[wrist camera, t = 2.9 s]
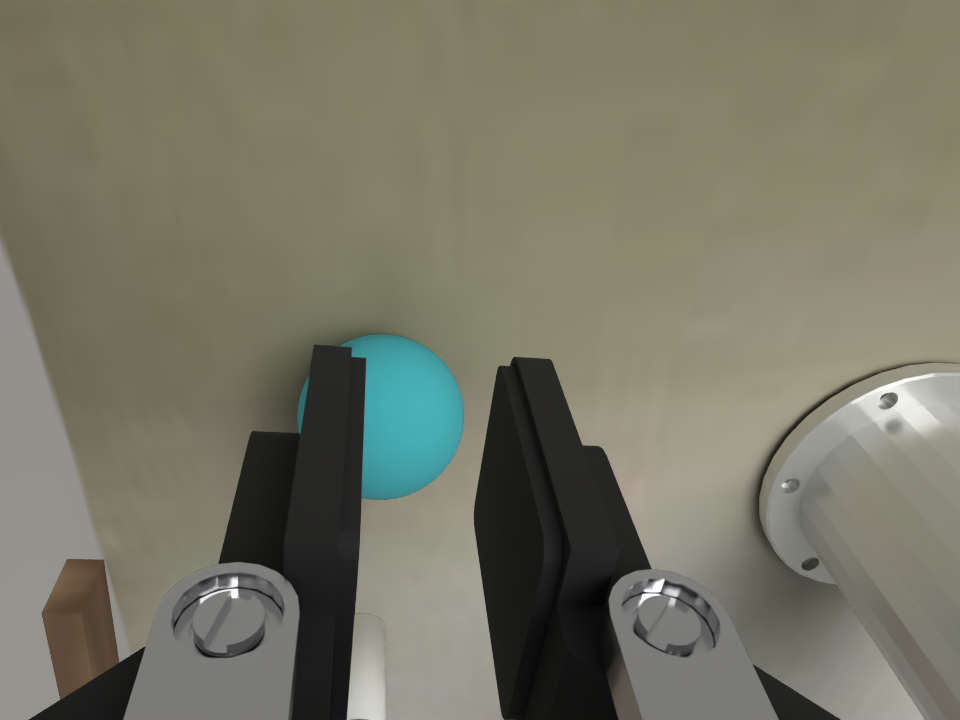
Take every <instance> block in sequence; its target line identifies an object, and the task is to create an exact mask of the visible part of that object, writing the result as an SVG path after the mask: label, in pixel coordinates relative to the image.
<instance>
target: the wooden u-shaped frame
mask: <svg viewBox="0 0 960 720" xmlns="http://www.w3.org/2000/svg"><path fill="white" fill-rule="evenodd" d="M42 617H43V622H44V626H45V630H46V635H47V640H48V645H49V649H50V654H51V658H52V663H53V668H54V672H55V677H56V682H57V686H58V691H59V695H60V700H61V699H63V698H64V697H66V696H67V695H69V694H70V693H72V692H74V691H75V690H77V689H78V688H80V687H82V686H83V685H85V684H86V683H88V682H90V681H91V680H93V679H94V678H96V677H98V676H99V675H101V674H102V673H104V672H105V671H107V670H109V669H110V668H112V667H113V666H115V665H117V664H118V663H119V658H118V651H117V645H116V638H115V632H114V625H113V618H112V612H111V605H110V599H109V592H108V586H107V579H106V572H105V566H104V560H82V559H79V560H78V559H67V561H66V563H65V565H64V567H63V569H62V572H61V574H60V576H59V578H58V580H57V582H56V584H55V586H54V588H53V590H52V593H51V595H50V597H49V599H48V601H47V603H46V605H45V607H44V609H43V612H42Z"/></svg>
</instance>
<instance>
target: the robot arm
mask: <svg viewBox="0 0 960 720" xmlns="http://www.w3.org/2000/svg"><path fill="white" fill-rule="evenodd" d="M365 382H366V358H362V357H352V347H342V346H326V345H314V348H313V355H312V361H311V368H310V374H309V381H308V388H307V394H306V401H305V407H304V414H303V420H302V427H301V433H280V432H257V431H253V432H252V433H251V435H250V438H249V441H248V445H247V449H246V453H245V457H244V462H243V466H242V470H241V474H240V478H239V482H238V486H237V490H236V494H235V498H234V502H233V507H232V511H231V515H230V519H229V523H228V527H227V531H226V535H225V539H224V543H223V547H222V551H221V556H220V560H219V564H217V565H214V566H211V567H208V568H204V569H201V570H198V571H196V572H195V573H193V574H191V575H189V576H188V577H186V578H184V579H183V580H181V581H179V582H178V583H177V584H176V585H175V586H174V587H173V588H172V589H171V590H170V591H169V592H168V593H167V594H166V595H165V597H164V599H163V600H162V602H161V604H160V606H159V608H158V610H157V612H156V615H155V618H154V621H153V625H152V628H151V631H150V634H149V638H148V641H147V644H146V646H145V647H144V648H142V649H140V650H139V651H137V652H136V653H134V654H132V655H131V656H129V657H128V658H126V659H125V660H123V661H121V662H120V663H118V664H117V665H115V666H113V667H112V668H110V669H109V670H107V671H105V672H104V673H102V674H101V675H99V676H98V677H96V678H94V679H93V680H91V681H90V682H88V683H86V684H85V685H83V686H82V687H80V688H78V689H77V690H75V691H74V692H72V693H70V694H69V695H67V696H66V697H64V698H63V699H61V700H59V701H58V702H56V703H55V704H53V705H52V706H50V707H48V708H47V709H45V710H43V711H42V712H40V713H39V714H37V715H36V716H34V717H32V718H31V719H29V720H347V711H348V697H349V684H350V670H351V656H352V643H353V629H354V616H355V602H356V589H357V575H358V561H359V544H360V523H361V495H362V467H363V438H364V410H365ZM759 517H760V520H761V524H762V527H763V531H764V533H765V535H766V537H767V538H768V540H769V542H770V544H771V545H772V547H773V549H774V551H775V552H776V554H777V555H778V556H779V557H780V558H781V559H782V561H783V562H784V563H785V564H786V565H787V566H788V567H790V568H791V569H792V570H794V571H795V572H797V573H798V574H800V575H802V576H805V577H808V578H810V579H813V580H815V581H818V582H823V583H828V584H834V585H837V586H838V588H839V589H840V591H841V592H842V594H843V595H844V597H845V598H846V600H847V601H848V603H849V604H850V606H851V607H852V609H853V611H854V612H855V614H856V615H857V617H858V618H859V620H860V621H861V623H862V624H863V626H864V627H865V629H866V630H867V632H868V633H869V635H870V637H871V638H872V640H873V641H874V643H875V644H876V646H877V647H878V649H879V650H880V652H881V653H882V655H883V656H884V658H885V659H886V661H887V662H888V664H889V666H890V667H891V669H892V670H893V672H894V673H895V675H896V676H897V678H898V679H899V681H900V682H901V684H902V685H903V687H904V688H905V690H906V691H907V693H908V695H909V696H910V698H911V699H912V701H913V702H914V704H915V705H916V707H917V708H918V710H919V711H920V713H921V714H922V716H923V717H924V719H925V720H960V364H950V363H927V364H917V365H909V366H905V367H901V368H897V369H894V370H890V371H886V372H882V373H879V374H877V375H875V376H872V377H870V378H868V379H865V380H863V381H861V382H858V383H856V384H854V385H852V386H850V387H849V388H847V389H845V390H843V391H842V392H840V393H838V394H837V395H835V396H833V397H832V398H830V399H828V400H827V401H826V402H825V403H823V404H822V405H821V406H819V407H818V408H817V409H816V410H814V411H813V412H812V413H811V414H809V415H808V416H807V417H806V418H805V419H804V420H803V421H802V422H801V423H800V424H799V425H798V426H797V427H796V428H795V429H794V430H793V431H792V432H791V433H790V434H789V436H788V437H787V438H786V439H785V441H784V442H783V444H782V445H781V447H780V448H779V450H778V451H777V452H776V454H775V455H774V457H773V459H772V461H771V463H770V465H769V467H768V470H767V472H766V474H765V476H764V479H763V483H762V487H761V492H760V496H759ZM474 527H475V534H476V541H477V548H478V555H479V562H480V569H481V576H482V583H483V590H484V597H485V604H486V611H487V618H488V624H489V631H490V638H491V645H492V652H493V659H494V666H495V673H496V680H497V687H498V694H499V701H500V708H501V713H502V717H503V719H504V720H840V719H839V718H837V717H835V716H834V715H832V714H831V713H829V712H828V711H826V710H824V709H823V708H821V707H820V706H818V705H816V704H815V703H813V702H812V701H810V700H809V699H807V698H805V697H804V696H802V695H801V694H799V693H797V692H796V691H794V690H793V689H791V688H790V687H788V686H786V685H785V684H783V683H782V682H780V681H778V680H777V679H775V678H774V677H772V676H771V675H769V674H767V673H766V672H764V671H763V670H761V669H759V668H758V667H756V666H755V665H753V664H752V662H751V660H750V658H749V656H748V654H747V652H746V649H745V647H744V645H743V643H742V641H741V639H740V637H739V635H738V633H737V630H736V628H735V626H734V624H733V622H732V620H731V618H730V616H729V614H728V613H727V611H726V610H725V608H724V607H723V605H722V604H721V602H720V601H719V600H718V599H717V598H716V597H715V596H714V595H713V594H711V593H710V592H709V591H708V590H707V589H706V588H704V587H703V586H701V585H700V584H698V583H696V582H695V581H693V580H691V579H690V578H687V577H684V576H682V575H679V574H676V573H673V572H670V571H663V570H656V569H651V566H650V564H649V561H648V559H647V556H646V554H645V551H644V549H643V546H642V544H641V541H640V539H639V536H638V534H637V531H636V529H635V526H634V524H633V521H632V519H631V516H630V514H629V511H628V508H627V506H626V503H625V501H624V498H623V496H622V493H621V491H620V488H619V486H618V483H617V481H616V478H615V476H614V473H613V471H612V468H611V466H610V463H609V461H608V458H607V456H606V454H605V452H604V450H603V449H602V448H601V447H599V446H583V445H582V443H581V440H580V438H579V435H578V432H577V429H576V426H575V424H574V421H573V418H572V415H571V413H570V410H569V407H568V404H567V401H566V399H565V396H564V393H563V390H562V388H561V385H560V382H559V379H558V376H557V374H556V371H555V368H554V365H553V363H552V361H551V360H550V359H539V358H523V357H514V358H513V359H512V361H511V364H510V366H499V367H498V370H497V375H496V380H495V386H494V392H493V398H492V404H491V410H490V416H489V422H488V428H487V434H486V440H485V446H484V452H483V458H482V464H481V470H480V476H479V482H478V488H477V493H476V499H475V507H474Z"/></svg>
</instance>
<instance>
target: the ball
mask: <svg viewBox="0 0 960 720" xmlns="http://www.w3.org/2000/svg"><path fill="white" fill-rule="evenodd" d="M339 346H342V347H352V357H362V358H366V382H365V410H364V438H363V467H362V495H361V498H365V499H374V500H386V499H394V498H399V497H403V496H406V495H409V494H412V493H414V492H416V491H418V490H420V489H422V488H423V487H425V486H426V485H428V484H429V483H431V482H432V481H433V480H434V479H436V478H437V477H438V476H439V475H440V474H441V473H442V472H443V470H444V469H445V468H446V466H447V465H448V464H449V463H450V461H451V459H452V458H453V456H454V454H455V452H456V450H457V447H458V445H459V442H460V439H461V434H462V430H463V421H464V413H463V402H462V398H461V394H460V391H459V388H458V385H457V383H456V381H455V379H454V377H453V375H452V374H451V372H450V370H449V369H448V367H447V366H446V365H445V364H444V363H443V361H442V360H441V359H440V358H439V357H438V356H437V355H435V354H434V353H433V352H432V351H431V350H429V349H428V348H426V347H425V346H423V345H421V344H419V343H417V342H415V341H413V340H410V339H407V338H404V337H400V336H396V335H388V334H375V335H367V336H362V337H358V338H355V339H352V340H350V341H347V342H345V343H343V344H341V345H339ZM308 381H309V376H308V378H307V380H306V382H305V384H304V386H303V388H302V392H301V395H300V399H299V403H298V412H297V424H298V432H299V433H301V427H302V420H303V414H304V407H305V401H306V394H307V388H308Z"/></svg>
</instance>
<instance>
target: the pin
mask: <svg viewBox="0 0 960 720" xmlns="http://www.w3.org/2000/svg"><path fill="white" fill-rule="evenodd" d="M347 720H386V695H385V625H384V623H383V622H382V620H381V619H379V618H378V617H376V616H374V615H371V614H365V613H359V614H355V616H354V629H353V643H352V656H351V670H350V684H349V697H348V711H347Z"/></svg>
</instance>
